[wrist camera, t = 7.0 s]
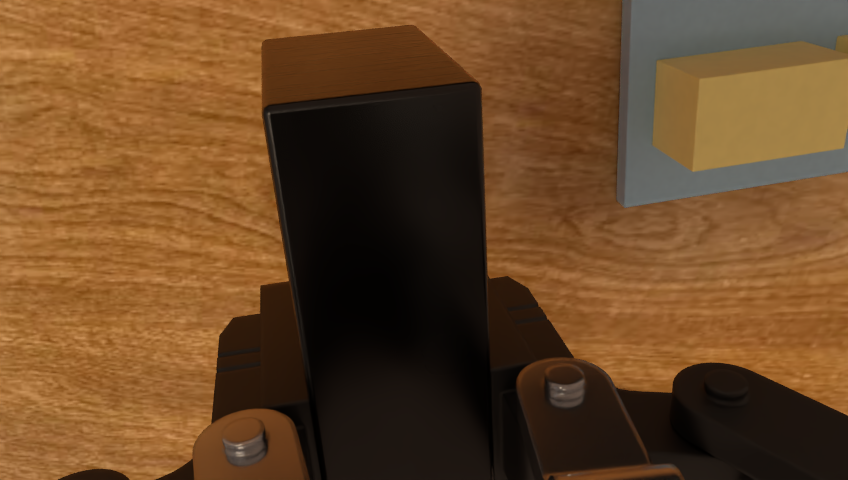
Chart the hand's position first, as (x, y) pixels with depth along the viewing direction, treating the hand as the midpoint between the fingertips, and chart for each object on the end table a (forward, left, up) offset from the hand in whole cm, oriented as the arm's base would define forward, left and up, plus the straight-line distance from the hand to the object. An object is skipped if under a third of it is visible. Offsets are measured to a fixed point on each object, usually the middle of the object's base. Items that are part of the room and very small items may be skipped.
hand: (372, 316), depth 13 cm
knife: (+5, 0, 0) cm, 5 cm away
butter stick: (+1, +15, -13) cm, 20 cm away
